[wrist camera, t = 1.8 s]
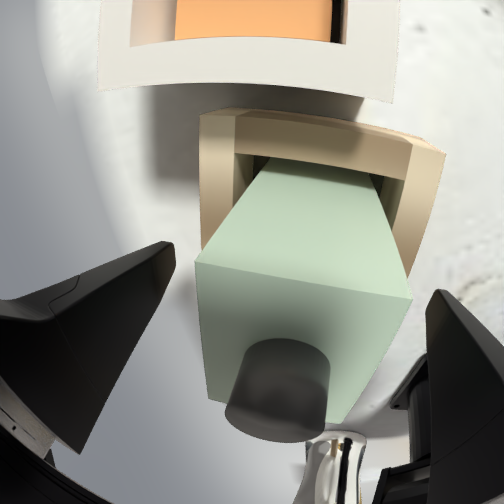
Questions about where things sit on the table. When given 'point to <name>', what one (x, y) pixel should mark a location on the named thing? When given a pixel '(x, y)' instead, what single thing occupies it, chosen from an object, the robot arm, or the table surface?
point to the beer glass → (332, 469)
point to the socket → (248, 52)
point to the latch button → (254, 19)
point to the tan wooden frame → (323, 152)
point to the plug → (298, 299)
